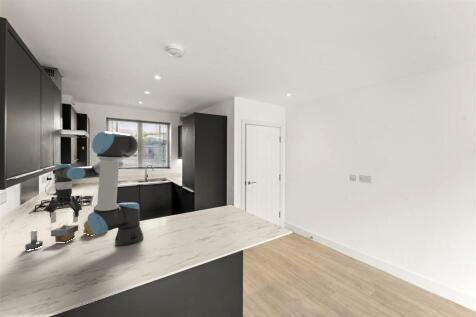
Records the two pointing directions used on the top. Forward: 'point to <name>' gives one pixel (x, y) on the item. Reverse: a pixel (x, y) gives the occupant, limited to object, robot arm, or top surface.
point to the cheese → (87, 229)
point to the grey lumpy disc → (64, 230)
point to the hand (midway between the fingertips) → (64, 222)
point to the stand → (64, 238)
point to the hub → (33, 241)
